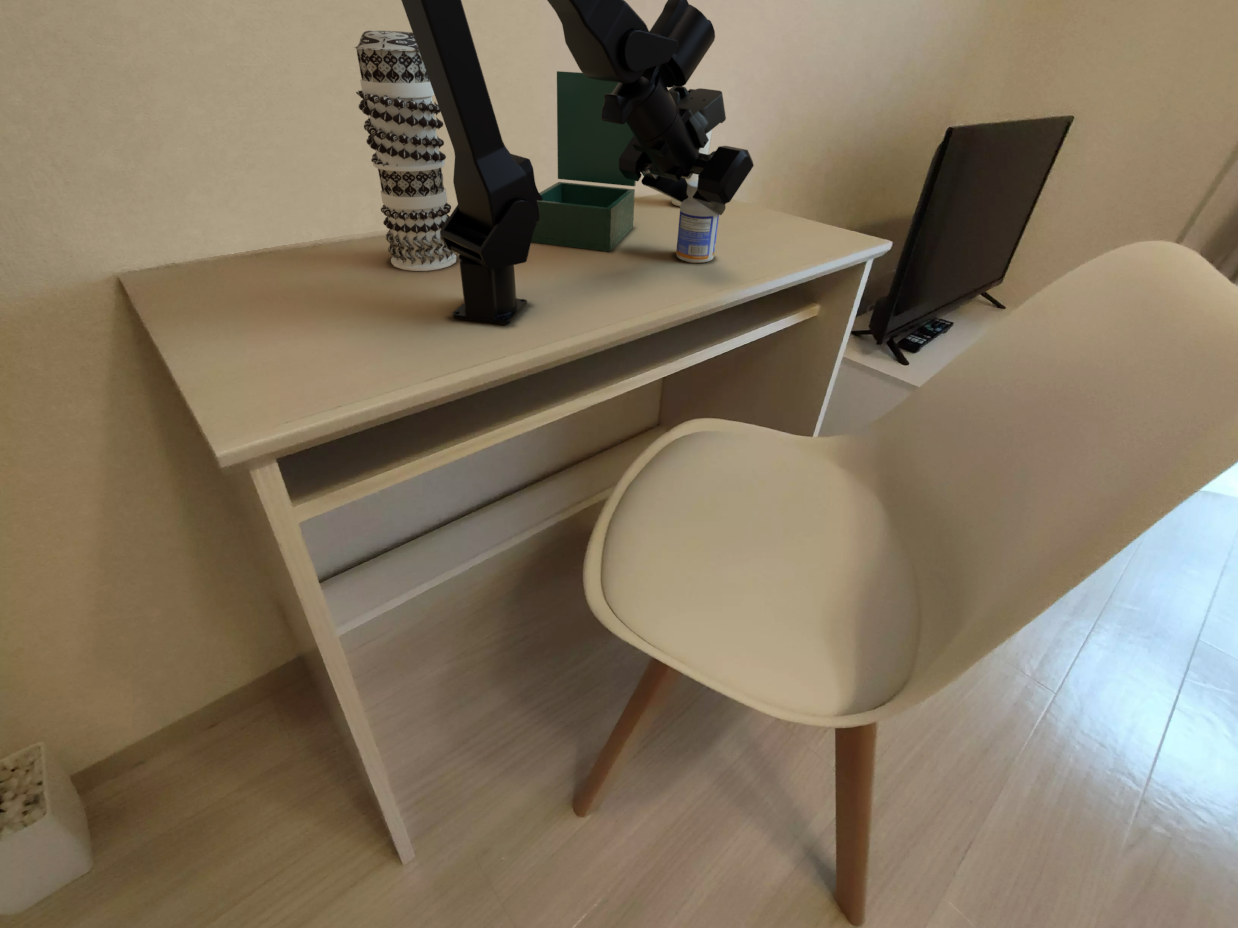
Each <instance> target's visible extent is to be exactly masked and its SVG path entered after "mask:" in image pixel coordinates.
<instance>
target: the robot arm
mask: <svg viewBox="0 0 1238 928" xmlns="http://www.w3.org/2000/svg"><path fill="white" fill-rule="evenodd" d="M400 1H401V3H402V7H403V9H404V12H405V14H406V17H407V21H408V23H409V26H410V29H411V32H412V33H413V35H414V38H415V40H416V43H417V46H418V49H419V52H420V55H421V57H422V60H423V63H424V66H425V69H426V72H427V74H428V77H429V80H430V83H431V86H432V89H433V92H434V97H435V101H436V102H437V103H436V104H438V106H439V109H440V111H441V112H440V114H441V117H442V120H443V124H444V125H445V128H446V131H447V134H448V137H449V139H450V142H451V145H452V148H453V153H454V163H453V164H454V165H453V178H452V179H453V182H452V183H453V188H454V192H455V197H456V201H457V205H456V206H455V208H454V209H453V211H452V212H451V214H450V215H449V216H450V217H449V218H448V220H447V221H446V223H445V224H444V226H443V227H442V229H441V230H440V235H441V237H442V239H443V241H444V244H445V246H446V248H447V249H448V250H450V251H454V253H455V254H458V263H459V272H460V280H461V287H462V296H463V297H462V298H463V303H462V304H461V305H460V306H458V308H457V309H455V310H453V312H452V318H453V319H457V320H464V321H474V322H482V323H490V324H496V325H497V324H498V325H510V324H511V323H512V322H513V321H514V320H515V319H516V318H517V316H518V315H520V313H521V312H522V311H523V310H524V309H525V308H526V306H528V300H527V299H525V298H517V289H516V275H515V272H516V271H515V265H519V264H520V265H521V264H524V263H526V262H527V261H528V257H529V252H530V249H531V245H532V242H531V240H532V236H533V232H534V230H535V227H536V225H537V223H538V222H539V220H540V211H539V204H538V202H537V200H538V201H542V200H543V198H542V196H541V195H540V192H539V190H538V187H537V185H536V184H537V183H536V179H535V172H534V166H533V163H532V162H531V159H530V158H527V157H524V156H521V155H516V154H513V153H511V152H510V151H509V149H508V148H507V146H506V145H505V143H504V141H503V137H502V134H501V130H500V128H499V124H498V120H497V117H496V114H495V110H494V107H493V104H492V100H491V97H490V94H489V90H488V87H487V83H486V81H485V76H484V73H483V69H482V66H481V62H480V58H479V55H478V53H477V49H476V45H475V43H474V39H473V34H472V33H471V29H470V26H469V22H468V18H467V15H466V11H465V9H464V4H463V2H462V0H400ZM546 1H547V2H548V4H549V5H550V6H551V7H552V9H553V10H554V12H555V13H556V16H557V18H558V19H559V21H560V23H561V27H562V31H563V36H564V42H565V45H566V46H567V48H568V50H569V53H570V54H571V55H572V58H573V59H574V61H575V63H576V65H577V67H578V69H579V70H580V71H581V73H583V74H585V75H586V76H587V77H588V78H591V79H596V80H604V81H611V82H619V83H618V85H617V86H616V88H615V89H614V91H613V92H612V93H611V94H607V93H606V94H605V95H604V105H603V107H602V112H601V119H602V120H603V121H607V122H612V123H617V124H624V123H625V122H626V123H627V124H628V126H629V127H630V129H631V131H632V132H633V134H634V136H633V138H632V139H631V141H630V142H629V144H628V145H627V147H626V148H625V150H624V151H623V153H622V154H621V156H620V157H619V170H620V171H621V173H622V174H623V175H624V177H625V178H627V179H631V180H634V181H636V182H639V181H640V180H641V184H642V185H643V186H644V187H648V188H650V189H652V190H655V191H656V192H659V193H660V194H663V195H665V196H667V197H669V198H670V199H671V198H673V199H675V200H677V201H679V202H681V203H682V202H683V201H684V200H685V199H688V195H687V186H688V183H687V181H686V179H690V178H691V176H692V175H693V174H697V175H698V185H697V191H696V192H695V194H694V195H693V198H694V199H695V200H697V201H698V202H700V203H701V204H703V205H704V206H706V207H707V208H709V209H710V210H712V211H714V212H715V213H717V214H719V216H722V215H723V214H724V212H725V210H726V204H729V203H731V201H732V200H733V198H734V197H735V195H736V193H737V192H738V191H739V189H740V188H741V186H742V184H743V183H744V181H745V180H746V178H747V177H748V175H749V174H750V173H751V171H752V169H753V168H754V166H755V164H754V161H753V159H752V157H751V154H750V152H749V149H745V148H739V147H735V146H730V145H720V146H717V148H716V150H713V151H711V152H709V153H708V155H707V154H703V153H699V149H700V148H704V147H705V145H706V144H707V142H708V141H709V139H708V137H707V135H706V134H707V133H708V132H710V131H711V130H712V131H713V130H714V129H715V128H716V127H717V126H718V125H719V124H723V123H724V122H725V121H726V120H727V116H726V115H727V114H726V109H725V101H724V96H723V92H722V90H718V89H709V88H703V87H701V88H695V89H693V88H689V89H687V87H686V85H687V83H688V81H690V78H691V77H692V76H693V74H694V72H695V71H696V69H697V67H698V66H699V65H700V63H701V62H702V61H703V59H704V57H705V56H706V54H707V53H708V51H709V50H710V48H711V46H712V45H713V43H714V42H715V39H716V30H715V29H714V25H713V22H712V21H711V20H710V19H708V18H707V17H706V15H705V14H704V13H703V12H702V11H701V10H699V9H698V8H697V7H695V6H693V5H692V4H690V3H689V1H688V0H667V1H666V2H665V4H664V6H663V8H662V12H660V14H659V16H658V18H656V21H655V22H654V23H653V25H652V26H651V28H650V30H649V27H648V25H647V23H646V22H645V21H644V20H643V19H642V18H641V17H640V15H639V14H638V13H637V12H636V11H635V10H634V9H633V8H632V7H631V5H630V4H629V3H628V2H627V1H626V0H546ZM642 176H643V177H642ZM641 177H642V179H641Z"/></svg>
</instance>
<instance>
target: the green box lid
mask: <svg viewBox="0 0 1238 928" xmlns="http://www.w3.org/2000/svg"><path fill="white" fill-rule="evenodd" d="M618 83H619V82H611V81H604V80H596V79H591V78H588V77H587V76H586V75H585V74H583V73H582V72H578V71H576V72H575V71H564V70H563V71H562V70H561V71H560V70H557V71H556V129H557V130H556V136H557V137H556V139H557V141H556V142H557V145H556V146H557V149H556V150H557V180H564V181H574V182H585V183H594V184H596V183H597V184H605V185H616V186H627V187H636V186H637V185H636V184H637V181H634V180H631V179H627V178H625V177H624V175H623V174H622V173H621V171H620V170H619V157H620V156H621V154H622V153H623V151H624V150H625V148H626V147H627V145H628V144H629V142H630V141H631V139H632V138H633V136H634V134H633V132H632V131H631V129H630V127H629V126H628V124H627V123H626V122H625V123H624V124H617V123H612V122H607V121H603V120H602V119H601V112H602V107H603V105H604V95H605V94H606V93H607V94H611V93H612V92H613V91H614V89H615V88H616V86H617V85H618Z"/></svg>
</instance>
